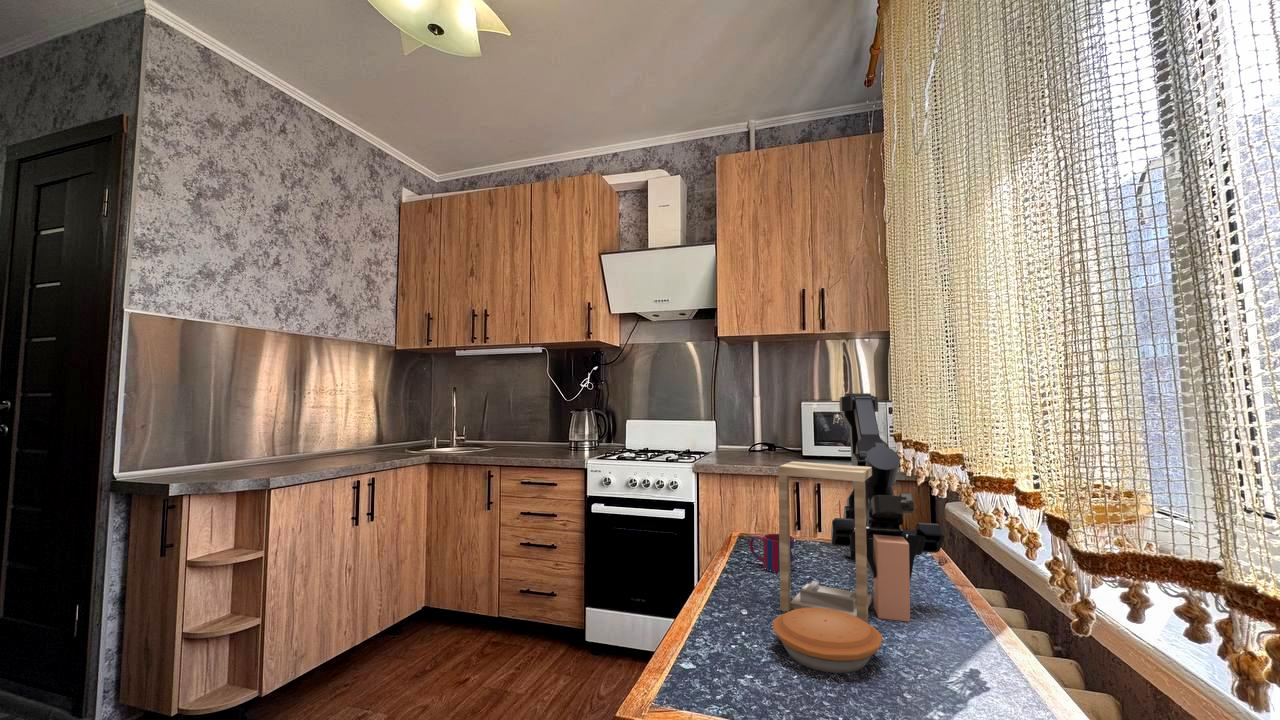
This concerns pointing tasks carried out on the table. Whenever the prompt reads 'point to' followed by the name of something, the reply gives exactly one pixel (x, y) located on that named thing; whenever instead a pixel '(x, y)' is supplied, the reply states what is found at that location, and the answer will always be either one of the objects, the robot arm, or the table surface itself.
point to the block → (891, 577)
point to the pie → (827, 639)
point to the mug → (773, 552)
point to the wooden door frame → (859, 598)
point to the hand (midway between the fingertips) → (892, 578)
